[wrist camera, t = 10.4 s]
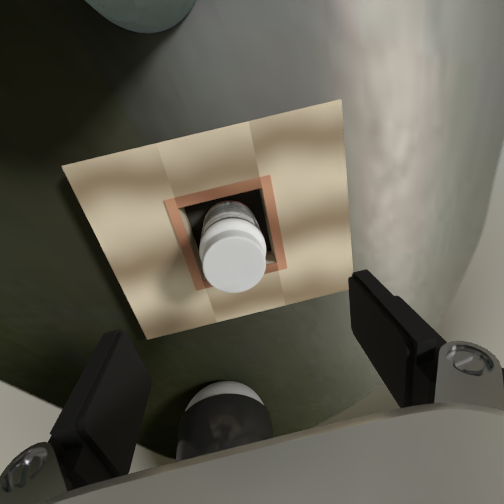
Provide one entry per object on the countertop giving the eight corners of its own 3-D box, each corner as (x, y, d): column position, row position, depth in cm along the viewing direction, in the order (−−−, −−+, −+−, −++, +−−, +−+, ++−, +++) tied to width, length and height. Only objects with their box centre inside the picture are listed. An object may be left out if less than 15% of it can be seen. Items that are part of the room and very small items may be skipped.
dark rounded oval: (223, 351, 31) (227, 533, 17) (282, 393, 34) (325, 569, 21) (162, 401, 33) (121, 600, 19) (224, 435, 36) (228, 622, 23)
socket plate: (77, 162, 21) (60, 166, 19) (328, 102, 22) (342, 98, 19) (153, 322, 28) (146, 340, 26) (343, 275, 28) (354, 288, 26)
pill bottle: (250, 252, 26) (263, 303, 18) (199, 245, 25) (192, 295, 18) (261, 204, 24) (281, 238, 17) (207, 194, 23) (202, 225, 16)
